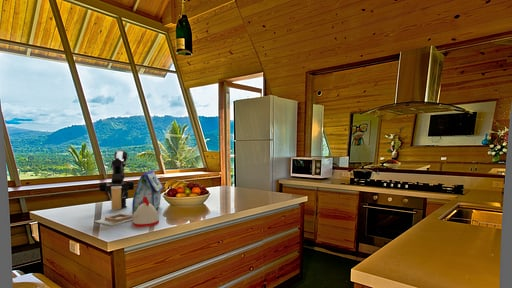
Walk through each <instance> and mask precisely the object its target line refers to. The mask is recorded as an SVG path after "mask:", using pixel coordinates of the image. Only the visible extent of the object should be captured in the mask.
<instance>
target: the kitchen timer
mask: <svg viewBox="0 0 512 288" xmlns="http://www.w3.org/2000/svg"><path fill="white" fill-rule="evenodd" d="M132 215H133V220H132V226H133V227H135V228H146V227H153V226H155V225H158V224H159V223H160V219H159V210H157V208H156V209H155V208H154V206H153V205H151V204H150V203H149V202H148V200H147V197H143V204H141V205H140V206H139V207H138V208H137V210H136V212H134V214H133V213H132Z"/></svg>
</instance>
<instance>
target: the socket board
mask: <svg viewBox="0 0 512 288" xmlns="http://www.w3.org/2000/svg"><path fill="white" fill-rule="evenodd" d="M131 221H132V222H133V214H130V213H117V214H114V215H110V216H109V215H108V216H105V217H104V218H100V219H98V220H94V223H96V224H100V225H106V226H110V227H115V226H119V225H122V224H124V223H129V222H131Z"/></svg>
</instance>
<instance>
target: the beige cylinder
mask: <svg viewBox="0 0 512 288" xmlns="http://www.w3.org/2000/svg"><path fill="white" fill-rule="evenodd" d="M121 188H122V186H112V187H111V198H110V199H111V210H113V211H114V210H115V211H116V210H121V209H122V208H121Z"/></svg>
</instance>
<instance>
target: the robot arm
mask: <svg viewBox="0 0 512 288" xmlns="http://www.w3.org/2000/svg"><path fill="white" fill-rule="evenodd" d="M127 160H128V152H126V151H125V150H123V149H117V150H115V152H114V157H113V160H112V161H111V163H110V167H111V170H112V174H111V183H108V182H107V181H105V182H104V181H103V182H99V183H98V189H99V192H105V193H108V196H109V197H110V199H111V187H112V186H122V188H121V209H125V208H126V209H127V208H128V206H127V199H129V192H128V191H134V189H135V182H134V181H133V180H129V181H126V183H125V177H126V176H125V174H126V173H125V168H126V165H127Z"/></svg>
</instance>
